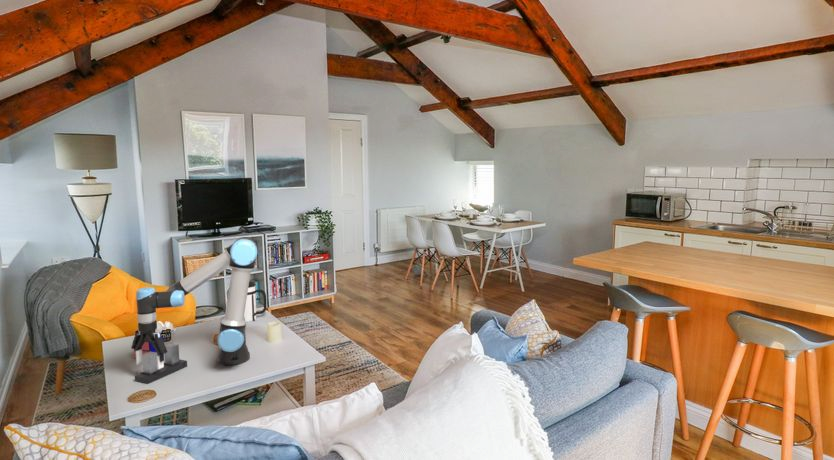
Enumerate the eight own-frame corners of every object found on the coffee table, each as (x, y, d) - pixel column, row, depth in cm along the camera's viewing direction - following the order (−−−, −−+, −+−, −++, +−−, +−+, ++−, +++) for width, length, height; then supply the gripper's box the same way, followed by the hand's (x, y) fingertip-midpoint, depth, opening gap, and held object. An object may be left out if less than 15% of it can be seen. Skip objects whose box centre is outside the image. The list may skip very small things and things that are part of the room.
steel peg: (150, 381, 218) (148, 356, 217) (143, 379, 220) (141, 354, 218) (158, 377, 222) (157, 352, 221) (151, 376, 224) (150, 351, 222)
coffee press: (245, 327, 297) (243, 280, 294) (229, 323, 306) (227, 277, 302) (267, 320, 311) (266, 275, 308) (252, 316, 320) (250, 273, 317)
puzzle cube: (150, 360, 243) (149, 341, 242) (133, 359, 245) (132, 340, 244) (164, 353, 253) (163, 335, 252) (148, 352, 255) (147, 334, 254)
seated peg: (179, 368, 233) (178, 344, 232) (172, 371, 229) (170, 347, 228) (173, 366, 235) (171, 343, 233) (165, 370, 231) (164, 346, 229)
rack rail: (187, 366, 235) (186, 360, 235) (147, 384, 215) (147, 377, 214) (175, 364, 238) (175, 358, 238) (134, 381, 218) (134, 375, 217)
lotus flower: (147, 334, 285) (146, 319, 284) (174, 329, 293) (174, 315, 292) (149, 340, 273) (148, 325, 272) (178, 335, 282) (177, 321, 281)
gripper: (174, 322, 217) (176, 366, 219) (135, 316, 226) (138, 359, 228) (159, 326, 210) (162, 373, 212) (120, 320, 219) (123, 364, 221)
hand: (150, 365), depth 220 cm, fingers open, 13 cm apart
